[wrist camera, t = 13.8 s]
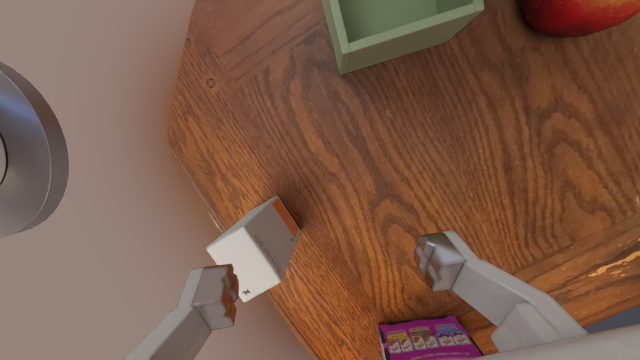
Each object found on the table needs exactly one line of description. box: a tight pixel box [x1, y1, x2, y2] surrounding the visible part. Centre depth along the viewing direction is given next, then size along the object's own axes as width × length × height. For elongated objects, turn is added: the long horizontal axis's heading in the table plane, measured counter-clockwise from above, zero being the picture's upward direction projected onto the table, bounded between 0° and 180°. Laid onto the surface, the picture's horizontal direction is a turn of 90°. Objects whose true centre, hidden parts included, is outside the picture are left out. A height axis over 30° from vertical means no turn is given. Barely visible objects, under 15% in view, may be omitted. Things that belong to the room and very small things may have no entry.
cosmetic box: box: [207, 195, 300, 303], centre depth 25 cm, size 6×4×12 cm
